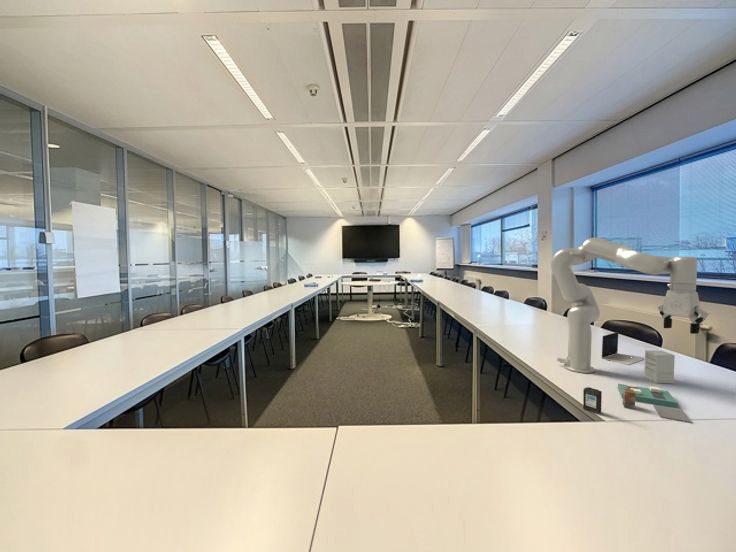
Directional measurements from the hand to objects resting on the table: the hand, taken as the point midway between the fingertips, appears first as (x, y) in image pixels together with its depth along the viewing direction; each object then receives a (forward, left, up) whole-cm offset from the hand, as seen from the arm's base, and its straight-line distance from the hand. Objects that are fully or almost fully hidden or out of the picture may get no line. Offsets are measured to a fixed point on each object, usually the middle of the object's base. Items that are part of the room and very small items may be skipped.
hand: (680, 330), depth 131 cm
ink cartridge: (-31, -34, -26) cm, 53 cm away
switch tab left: (-15, -13, -24) cm, 31 cm away
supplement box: (-3, +16, -26) cm, 30 cm away
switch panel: (-12, -10, -26) cm, 30 cm away
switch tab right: (-8, -7, -24) cm, 26 cm away
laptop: (-12, +46, -26) cm, 54 cm away
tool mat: (-7, -23, -26) cm, 35 cm away
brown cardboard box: (-19, -23, -26) cm, 39 cm away
